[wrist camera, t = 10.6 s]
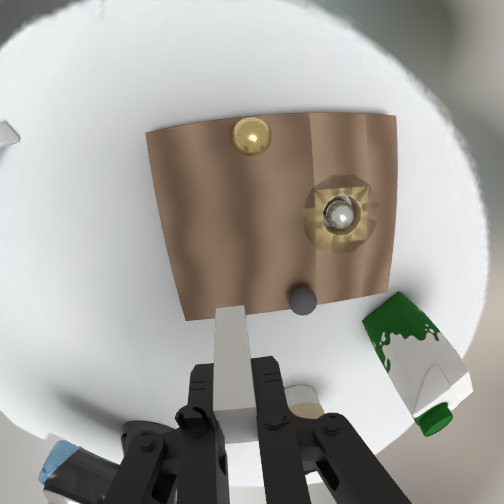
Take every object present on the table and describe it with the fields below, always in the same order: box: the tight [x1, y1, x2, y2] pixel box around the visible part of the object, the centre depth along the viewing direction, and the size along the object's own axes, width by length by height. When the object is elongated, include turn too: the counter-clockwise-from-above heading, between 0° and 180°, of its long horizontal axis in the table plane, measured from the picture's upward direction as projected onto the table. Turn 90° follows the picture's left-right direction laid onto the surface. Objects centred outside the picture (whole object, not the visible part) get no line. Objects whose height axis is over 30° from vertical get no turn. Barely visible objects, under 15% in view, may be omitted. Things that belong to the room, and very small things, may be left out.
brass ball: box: [231, 117, 272, 156], centre depth 24 cm, size 4×4×4 cm
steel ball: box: [326, 200, 354, 229], centre depth 30 cm, size 3×3×3 cm
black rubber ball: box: [289, 287, 317, 315], centre depth 31 cm, size 3×3×3 cm
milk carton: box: [362, 292, 473, 437], centre depth 30 cm, size 9×9×20 cm
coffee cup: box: [284, 385, 325, 475], centre depth 38 cm, size 9×9×15 cm
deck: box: [146, 113, 398, 321], centre depth 30 cm, size 26×22×2 cm
